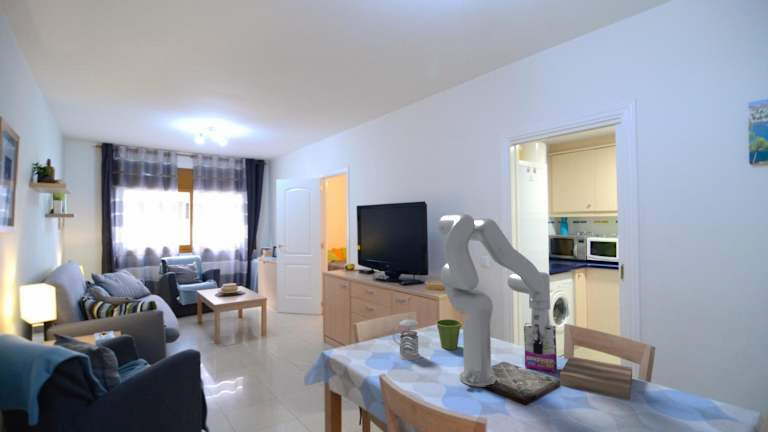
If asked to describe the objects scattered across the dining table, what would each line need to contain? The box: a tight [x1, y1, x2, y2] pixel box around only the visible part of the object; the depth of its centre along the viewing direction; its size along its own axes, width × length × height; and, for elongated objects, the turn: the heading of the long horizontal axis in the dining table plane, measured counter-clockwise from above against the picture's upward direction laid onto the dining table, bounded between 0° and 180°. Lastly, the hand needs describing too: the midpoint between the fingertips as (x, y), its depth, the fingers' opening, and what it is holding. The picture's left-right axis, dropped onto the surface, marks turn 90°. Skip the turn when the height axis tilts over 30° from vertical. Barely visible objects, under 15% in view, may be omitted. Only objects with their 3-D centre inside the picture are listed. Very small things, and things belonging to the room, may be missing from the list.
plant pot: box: [435, 318, 463, 351], centre depth 169 cm, size 12×12×11 cm
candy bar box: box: [523, 322, 558, 373], centre depth 143 cm, size 11×5×16 cm, turn 62°
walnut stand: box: [559, 355, 633, 401], centre depth 130 cm, size 20×20×4 cm
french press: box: [392, 296, 421, 361], centre depth 159 cm, size 10×12×25 cm
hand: (540, 350), depth 143 cm, fingers open, 7 cm apart
